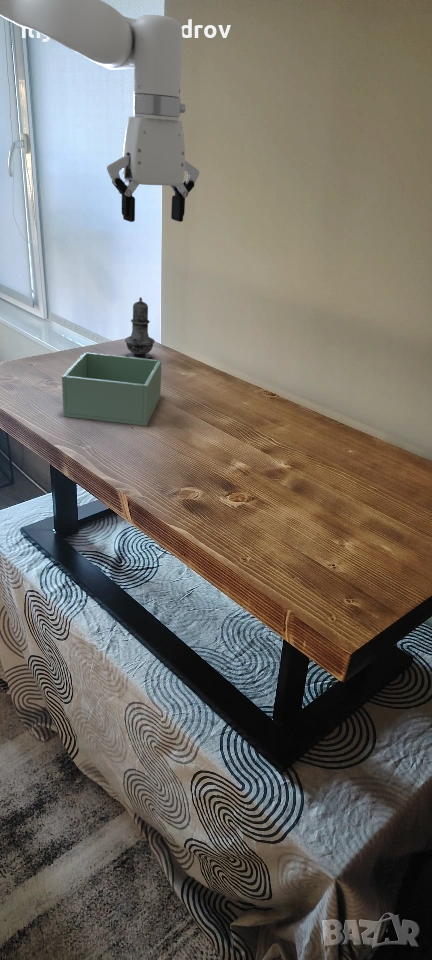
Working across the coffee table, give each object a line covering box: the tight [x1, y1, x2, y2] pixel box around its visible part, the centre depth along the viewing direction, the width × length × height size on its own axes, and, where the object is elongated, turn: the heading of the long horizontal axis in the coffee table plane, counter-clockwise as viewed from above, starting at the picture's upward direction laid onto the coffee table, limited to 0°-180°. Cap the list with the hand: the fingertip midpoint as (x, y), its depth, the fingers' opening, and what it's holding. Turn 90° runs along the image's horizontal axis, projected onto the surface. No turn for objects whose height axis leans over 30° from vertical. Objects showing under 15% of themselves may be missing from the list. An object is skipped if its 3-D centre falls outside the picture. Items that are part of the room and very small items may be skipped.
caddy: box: [61, 351, 163, 427], centre depth 101 cm, size 13×12×7 cm
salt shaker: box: [124, 296, 156, 360], centre depth 122 cm, size 6×6×12 cm
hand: (153, 220), depth 111 cm, fingers open, 9 cm apart
